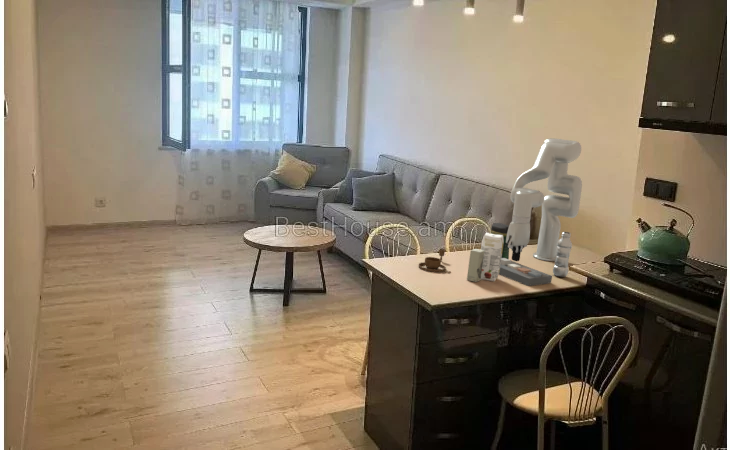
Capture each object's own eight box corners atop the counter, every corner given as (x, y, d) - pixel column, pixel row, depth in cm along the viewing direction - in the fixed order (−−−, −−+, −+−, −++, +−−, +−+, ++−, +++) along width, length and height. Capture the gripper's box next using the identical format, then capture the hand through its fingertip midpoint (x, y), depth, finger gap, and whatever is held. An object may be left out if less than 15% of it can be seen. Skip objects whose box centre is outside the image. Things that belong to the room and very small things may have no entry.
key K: (504, 262, 287) (504, 257, 287) (510, 264, 284) (511, 260, 284) (497, 262, 285) (498, 258, 285) (504, 265, 282) (504, 260, 282)
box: (476, 282, 262) (480, 252, 259) (466, 280, 264) (470, 250, 261) (480, 280, 266) (484, 250, 264) (471, 277, 269) (475, 248, 266)
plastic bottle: (559, 278, 280) (566, 234, 275) (548, 274, 285) (555, 231, 281) (570, 278, 283) (577, 234, 278) (559, 273, 288) (566, 230, 284)
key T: (523, 272, 278) (524, 267, 277) (530, 274, 275) (531, 270, 274) (516, 272, 276) (517, 268, 275) (523, 275, 272) (524, 270, 272)
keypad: (508, 266, 292) (509, 260, 291) (551, 283, 272) (552, 275, 271) (486, 269, 284) (487, 262, 284) (528, 285, 264) (529, 278, 263)
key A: (513, 268, 283) (514, 263, 282) (520, 270, 279) (520, 266, 279) (507, 268, 281) (507, 264, 280) (513, 271, 277) (514, 266, 277)
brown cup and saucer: (407, 265, 280) (409, 252, 279) (439, 261, 293) (441, 249, 292) (436, 276, 267) (437, 263, 266) (468, 271, 280) (469, 258, 278)
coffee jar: (510, 264, 297) (516, 225, 293) (500, 266, 292) (505, 226, 288) (494, 259, 304) (499, 221, 300) (483, 260, 299) (488, 222, 295)
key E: (533, 275, 273) (534, 271, 273) (540, 278, 270) (541, 274, 269) (527, 276, 271) (527, 272, 270) (534, 279, 268) (535, 274, 267)
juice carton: (496, 282, 265) (502, 238, 261) (476, 278, 267) (481, 234, 264) (499, 278, 272) (505, 234, 268) (479, 274, 274) (485, 231, 271)
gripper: (526, 216, 283) (521, 256, 287) (502, 218, 275) (497, 259, 279) (539, 220, 277) (533, 261, 281) (514, 222, 268) (509, 264, 273)
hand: (515, 260), depth 280 cm, fingers closed
